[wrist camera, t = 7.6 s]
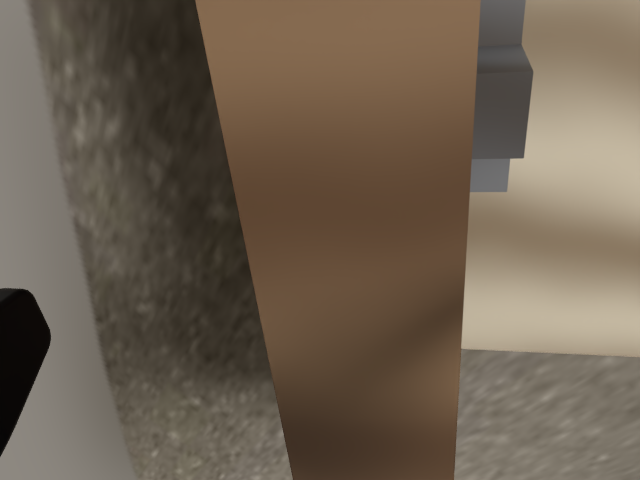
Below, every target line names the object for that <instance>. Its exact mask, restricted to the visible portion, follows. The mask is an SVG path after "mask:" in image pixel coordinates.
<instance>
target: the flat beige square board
mask: <svg viewBox="0 0 640 480" xmlns="http://www.w3.org/2000/svg"><path fill="white" fill-rule="evenodd" d="M461 349H477V350H499V351H521V352H543V353H565V354H587V355H609V356H631V357H640V0H481V2H480V20H479V38H478V56H477V74H476V92H475V110H474V128H473V146H472V164H471V181H470V199H469V217H468V235H467V253H466V271H465V289H464V307H463V325H462V343H461Z"/></svg>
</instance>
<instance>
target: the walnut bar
mask: <svg viewBox="0 0 640 480" xmlns="http://www.w3.org/2000/svg"><path fill="white" fill-rule="evenodd" d="M195 1H196V6H197V11H198V16H199V21H200V26H201V31H202V36H203V41H204V45H205V50H206V55H207V60H208V65H209V70H210V75H211V80H212V85H213V90H214V94H215V99H216V104H217V109H218V114H219V119H220V124H221V129H222V134H223V139H224V143H225V148H226V153H227V158H228V163H229V168H230V173H231V178H232V183H233V188H234V192H235V197H236V202H237V207H238V212H239V217H240V222H241V227H242V232H243V236H244V241H245V246H246V251H247V256H248V261H249V266H250V271H251V276H252V281H253V285H254V290H255V295H256V300H257V305H258V310H259V315H260V320H261V325H262V330H263V334H264V339H265V344H266V349H267V354H268V359H269V364H270V369H271V374H272V379H273V383H274V388H275V393H276V398H277V403H278V408H279V413H280V418H281V423H282V428H283V432H284V437H285V442H286V447H287V452H288V457H289V462H290V467H291V472H292V477H293V480H454V468H455V450H456V432H457V414H458V396H459V378H460V361H461V343H462V325H463V307H464V289H465V271H466V253H467V235H468V217H469V199H470V181H471V164H472V146H473V128H474V110H475V92H476V74H477V56H478V38H479V20H480V2H481V0H195Z"/></svg>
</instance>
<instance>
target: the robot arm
mask: <svg viewBox="0 0 640 480" xmlns="http://www.w3.org/2000/svg"><path fill="white" fill-rule="evenodd" d="M50 341H51V334H50V329H49V327H48V325H47V323H46V321H45V319H44V316H43V314H42V312H41V310H40V308H39V306H38V304H37V302H36V300H35V298H34V296H33V294H31V293H30V292H29V291H28V290H25V289H11V288H3V289H0V456H1V455H2V453H3V451H4V449H5V447H6V445H7V443H8V441H9V439H10V437H11V435H12V432H13V430H14V428H15V426H16V424H17V421H18V419H19V416H20V414H21V412H22V410H23V407H24V405H25V402H26V400H27V398H28V395H29V393H30V391H31V388H32V386H33V384H34V381H35V379H36V377H37V374H38V372H39V370H40V367H41V365H42V362H43V360H44V358H45V356H46V353H47V351H48V349H49V346H50Z"/></svg>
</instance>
